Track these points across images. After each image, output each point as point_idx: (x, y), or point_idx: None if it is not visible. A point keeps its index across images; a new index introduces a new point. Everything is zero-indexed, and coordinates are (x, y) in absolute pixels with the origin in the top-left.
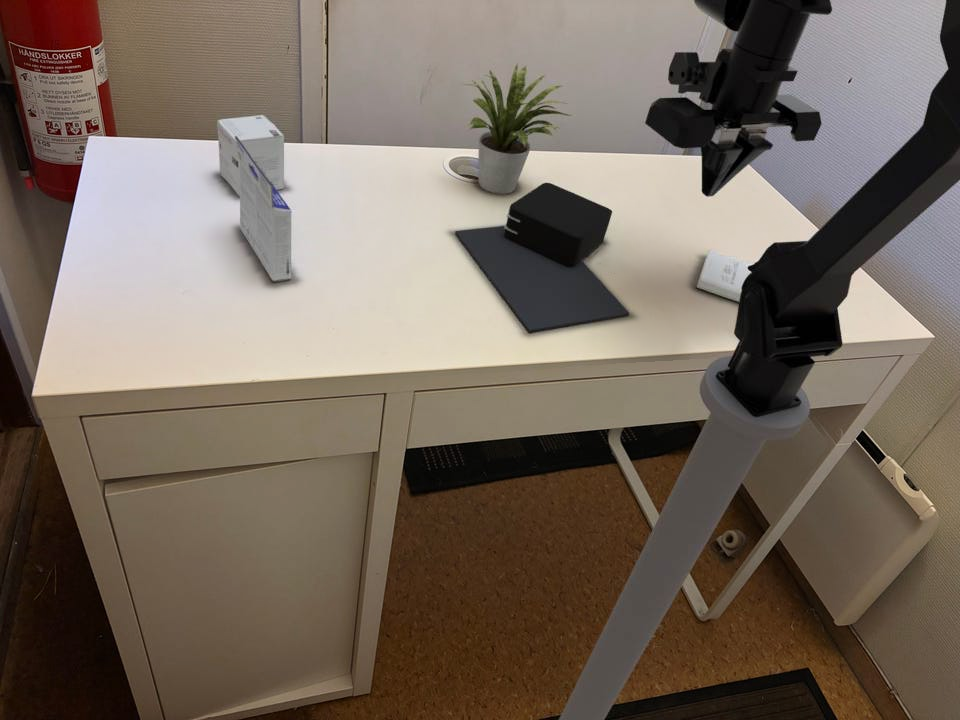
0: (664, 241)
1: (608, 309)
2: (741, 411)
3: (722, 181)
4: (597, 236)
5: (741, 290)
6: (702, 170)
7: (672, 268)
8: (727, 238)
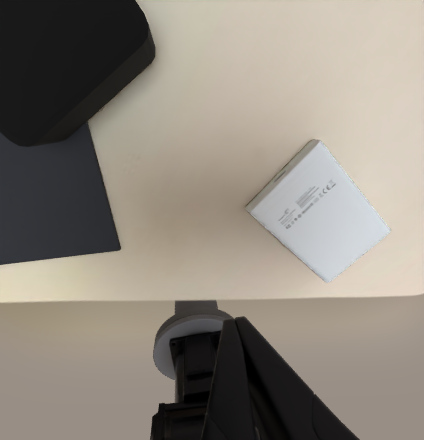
0: (278, 74)
1: (91, 242)
2: (169, 370)
3: (253, 410)
4: (111, 88)
5: (288, 241)
6: (212, 385)
7: (241, 156)
8: (396, 83)
